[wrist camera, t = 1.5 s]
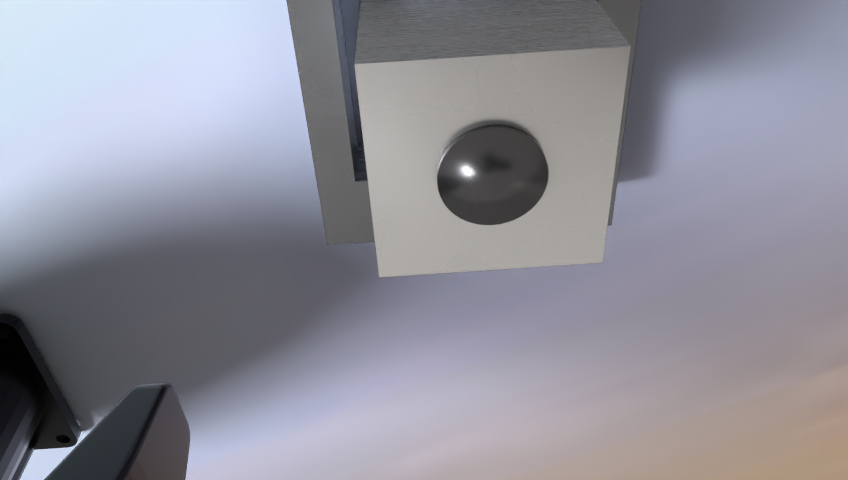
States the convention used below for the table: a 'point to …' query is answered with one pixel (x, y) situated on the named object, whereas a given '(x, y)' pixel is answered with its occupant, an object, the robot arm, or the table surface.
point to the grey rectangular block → (489, 131)
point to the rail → (334, 118)
